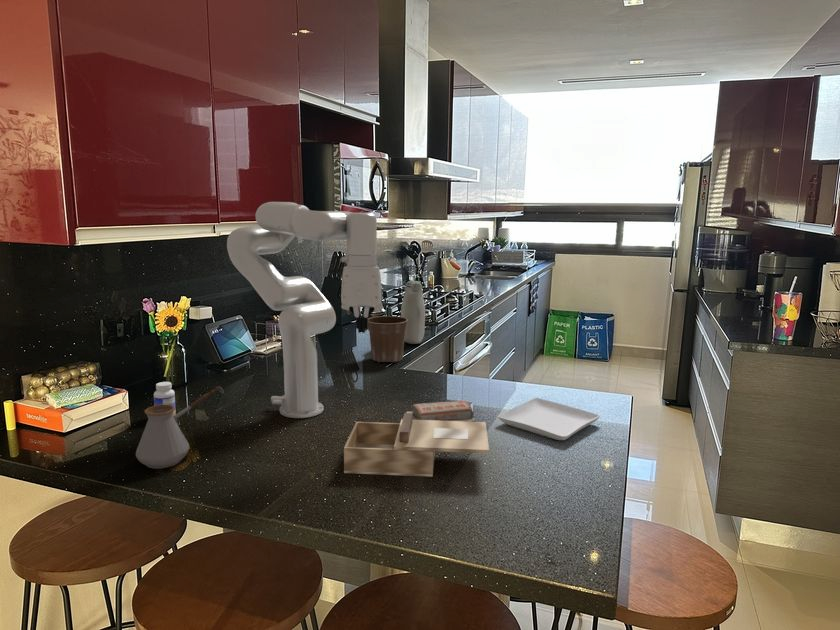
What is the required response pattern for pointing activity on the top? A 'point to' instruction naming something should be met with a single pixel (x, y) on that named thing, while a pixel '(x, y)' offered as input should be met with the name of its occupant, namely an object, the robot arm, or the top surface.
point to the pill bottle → (164, 395)
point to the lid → (441, 436)
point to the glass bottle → (413, 312)
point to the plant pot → (387, 338)
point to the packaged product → (443, 411)
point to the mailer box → (383, 452)
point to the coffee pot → (164, 436)
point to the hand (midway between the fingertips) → (362, 331)
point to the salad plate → (548, 418)
